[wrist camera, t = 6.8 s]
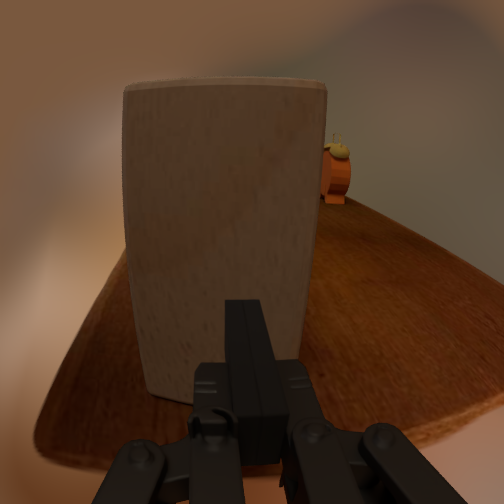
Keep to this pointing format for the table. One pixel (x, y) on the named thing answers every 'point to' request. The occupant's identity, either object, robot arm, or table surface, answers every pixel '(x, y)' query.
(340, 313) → the table surface
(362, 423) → the table surface
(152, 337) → the wooden block
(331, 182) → the alarm clock
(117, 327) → the table surface
